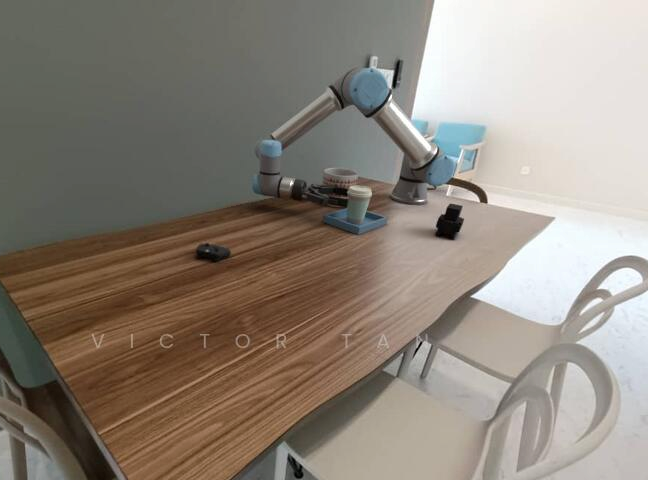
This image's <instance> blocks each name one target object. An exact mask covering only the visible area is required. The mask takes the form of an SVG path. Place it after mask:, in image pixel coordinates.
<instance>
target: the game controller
mask: <svg viewBox="0 0 648 480" xmlns="http://www.w3.org/2000/svg"><path fill="white" fill-rule="evenodd" d="M195 253H196V257H197V258H198V259H201V258H202V257H206V258H211V259H213V261H214V262H219V261H220V260H221V259H222V258H227V257H229V256H230V255H231V254H232V252H231V250H230V249H229V248H227V247H224V246H220V245H214V244H210V243H209V242H206V243H199V245H198V246H196V249H195Z"/></svg>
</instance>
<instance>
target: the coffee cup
mask: <svg viewBox="0 0 648 480" xmlns="http://www.w3.org/2000/svg"><path fill="white" fill-rule="evenodd" d="M347 193H348V206H347V222H349V223H352V224H362V223H363V220H364V217H365V214H366V211H368V207H369V204H370V201H371V197H372V196H373V192H372V188H371V187H368V186H366V185H365V186H364V185H358V184H357V185H356V186H350V187H349V190H348V192H347Z"/></svg>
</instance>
